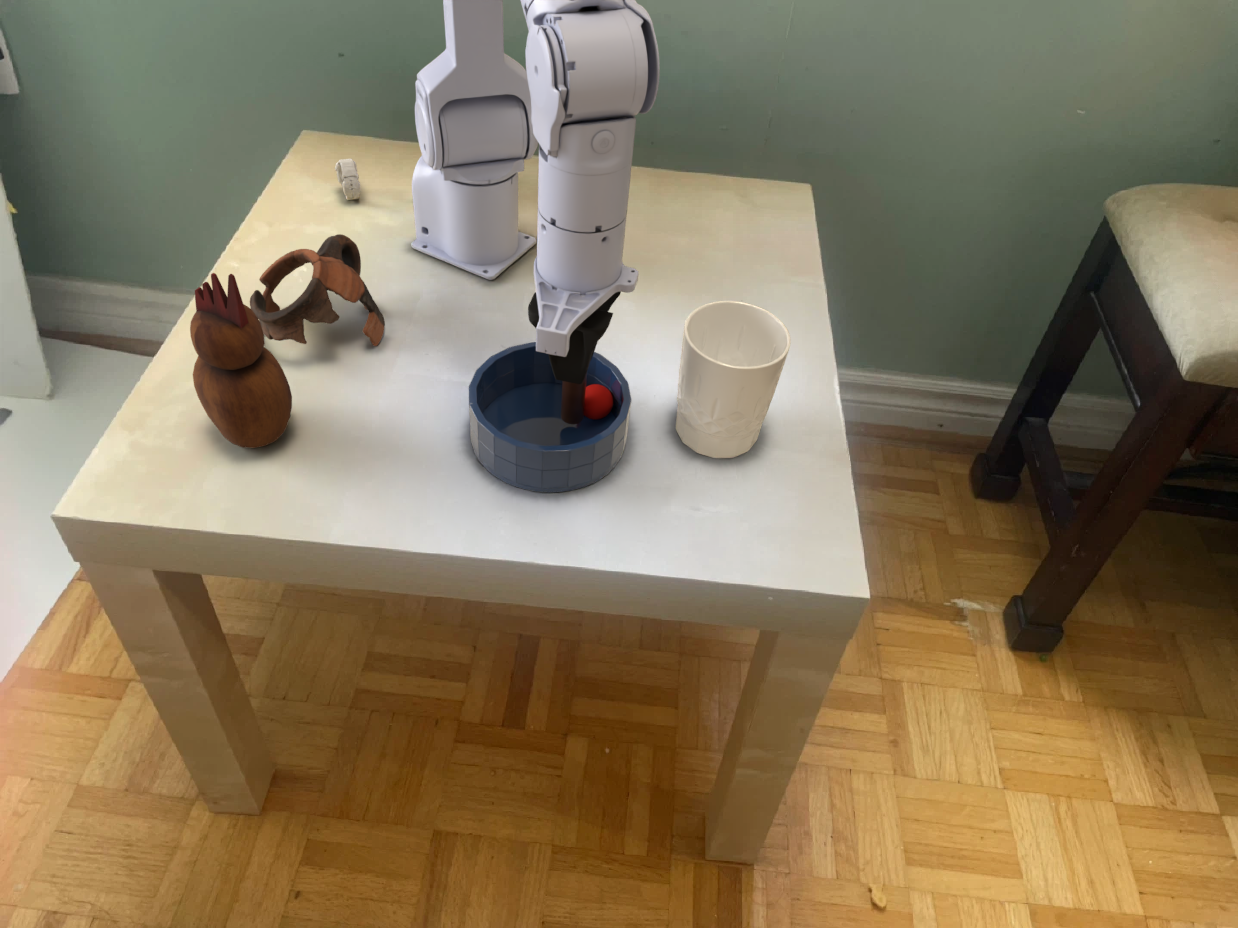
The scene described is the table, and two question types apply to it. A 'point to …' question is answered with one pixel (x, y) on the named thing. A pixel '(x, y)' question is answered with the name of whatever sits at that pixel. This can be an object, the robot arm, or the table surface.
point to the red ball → (597, 401)
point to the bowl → (543, 422)
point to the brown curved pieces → (316, 291)
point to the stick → (573, 401)
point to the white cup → (728, 376)
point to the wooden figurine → (237, 369)
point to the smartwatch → (348, 178)
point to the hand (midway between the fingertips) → (573, 369)
